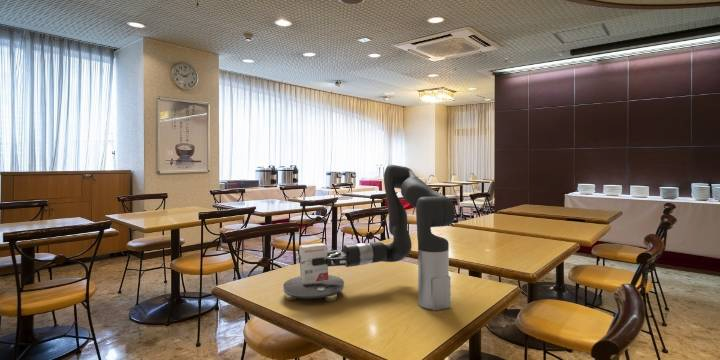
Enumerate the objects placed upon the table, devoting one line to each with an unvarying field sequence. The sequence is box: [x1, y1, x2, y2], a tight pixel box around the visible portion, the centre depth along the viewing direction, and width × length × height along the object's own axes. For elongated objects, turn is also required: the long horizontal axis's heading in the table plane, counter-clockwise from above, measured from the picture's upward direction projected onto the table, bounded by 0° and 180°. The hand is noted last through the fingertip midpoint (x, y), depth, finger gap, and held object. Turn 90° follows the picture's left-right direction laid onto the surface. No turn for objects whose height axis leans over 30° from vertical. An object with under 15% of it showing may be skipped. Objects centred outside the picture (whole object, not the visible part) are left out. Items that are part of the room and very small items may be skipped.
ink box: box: [298, 242, 329, 283], centre depth 126 cm, size 9×5×12 cm, turn 111°
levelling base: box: [282, 274, 345, 303], centre depth 127 cm, size 20×20×5 cm
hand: (310, 260), depth 126 cm, fingers closed on ink box, 5 cm apart
